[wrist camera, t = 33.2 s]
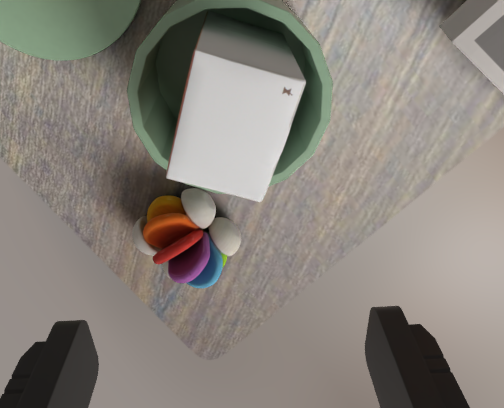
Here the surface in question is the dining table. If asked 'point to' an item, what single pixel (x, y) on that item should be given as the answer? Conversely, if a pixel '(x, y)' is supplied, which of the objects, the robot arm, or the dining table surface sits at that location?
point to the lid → (64, 26)
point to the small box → (235, 108)
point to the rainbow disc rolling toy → (187, 237)
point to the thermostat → (480, 36)
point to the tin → (178, 63)
